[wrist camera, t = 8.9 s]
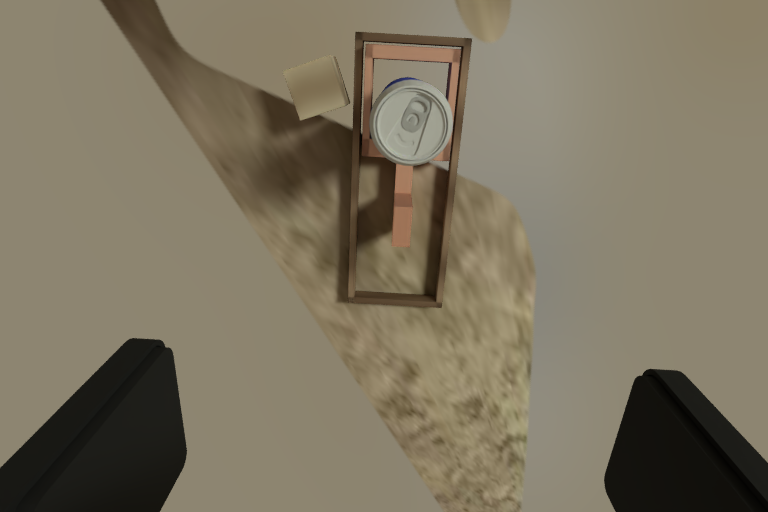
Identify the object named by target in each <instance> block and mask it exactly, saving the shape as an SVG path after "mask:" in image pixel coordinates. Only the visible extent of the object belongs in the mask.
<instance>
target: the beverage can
mask: <svg viewBox="0 0 768 512" xmlns="http://www.w3.org/2000/svg"><path fill="white" fill-rule="evenodd" d="M369 127H370V134H371V137H372V140H373V142H374V144H375V146H376V148H377V149H378V150H379V152H380V153H381V154H382V155H383V156H384V157H386V158H387V159H388V160H390V161H392V162H394V163H397V164H399V165H404V166H417V165H421V164H424V163H427V162H429V161H431V160H432V159H434V158H435V157H437V156H438V155H439V154H440V153H441V152H442V151H443V149H444V148H445V147H446V145H447V143H448V141H449V139H450V136H451V133H452V127H453V116H452V111H451V108H450V105H449V103H448V101H447V99H446V98H445V96H444V95H443V94H442V93H441V92H440V91H439V90H438V89H437V88H436V87H434V86H433V85H431V84H429V83H427V82H424V81H421V80H418V79H415V78H408V77H407V78H400V79H397V80H395V81H393V82H391V83H390V84H388V85H387V87H385V89H384V90H383V91H382V93H381V94H380V95H379V97H378V98H377V99H376V101H375V103H374V105H373V107H372V110H371V114H370V120H369Z"/></svg>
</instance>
